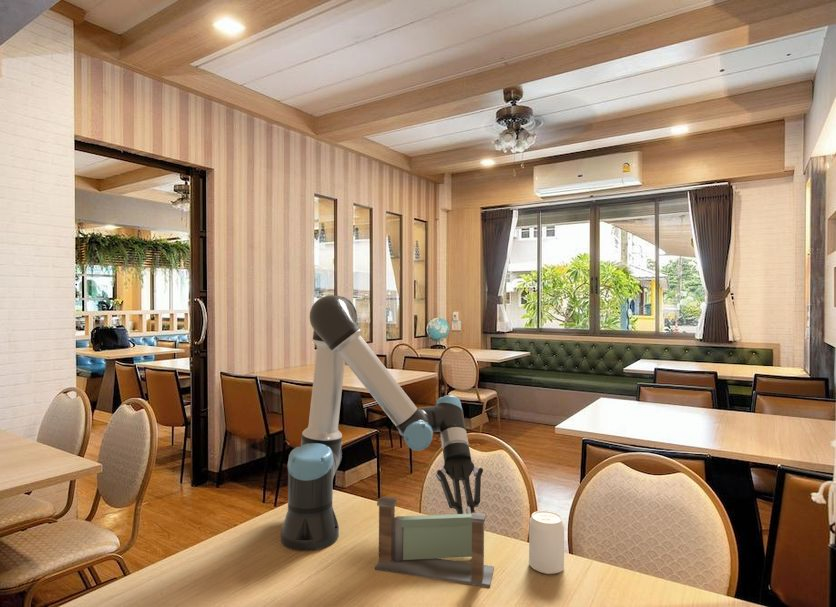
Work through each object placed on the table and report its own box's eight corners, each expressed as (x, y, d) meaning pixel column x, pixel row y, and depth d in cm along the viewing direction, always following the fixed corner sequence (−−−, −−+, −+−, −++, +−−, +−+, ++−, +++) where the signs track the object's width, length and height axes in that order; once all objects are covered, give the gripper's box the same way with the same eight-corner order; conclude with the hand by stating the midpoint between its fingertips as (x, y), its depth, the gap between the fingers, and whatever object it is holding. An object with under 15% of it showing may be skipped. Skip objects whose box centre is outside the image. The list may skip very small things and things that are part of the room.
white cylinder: (565, 578, 115) (565, 526, 115) (529, 573, 117) (529, 522, 116) (562, 560, 123) (563, 511, 123) (528, 556, 125) (529, 508, 124)
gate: (393, 556, 122) (394, 516, 122) (480, 552, 124) (480, 512, 124) (394, 561, 120) (394, 520, 120) (482, 557, 122) (483, 517, 122)
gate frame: (383, 552, 126) (384, 494, 126) (493, 568, 119) (494, 506, 119) (372, 569, 118) (373, 506, 118) (490, 587, 111) (490, 520, 111)
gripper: (476, 452, 145) (492, 538, 129) (430, 454, 143) (440, 541, 127) (481, 440, 139) (499, 528, 124) (433, 442, 137) (444, 531, 122)
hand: (469, 534), depth 125 cm, fingers closed
